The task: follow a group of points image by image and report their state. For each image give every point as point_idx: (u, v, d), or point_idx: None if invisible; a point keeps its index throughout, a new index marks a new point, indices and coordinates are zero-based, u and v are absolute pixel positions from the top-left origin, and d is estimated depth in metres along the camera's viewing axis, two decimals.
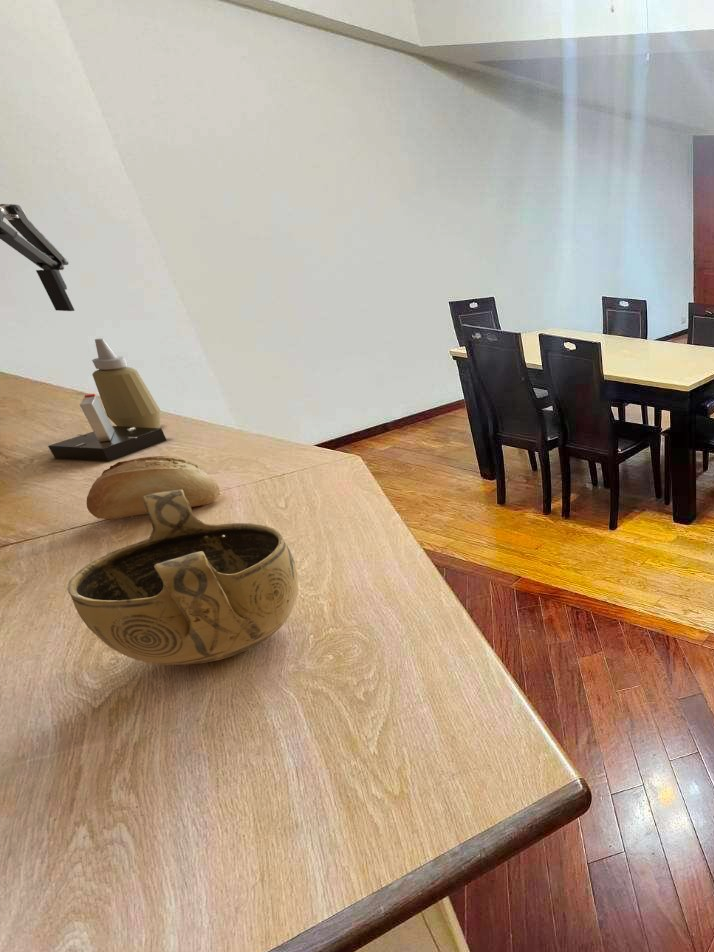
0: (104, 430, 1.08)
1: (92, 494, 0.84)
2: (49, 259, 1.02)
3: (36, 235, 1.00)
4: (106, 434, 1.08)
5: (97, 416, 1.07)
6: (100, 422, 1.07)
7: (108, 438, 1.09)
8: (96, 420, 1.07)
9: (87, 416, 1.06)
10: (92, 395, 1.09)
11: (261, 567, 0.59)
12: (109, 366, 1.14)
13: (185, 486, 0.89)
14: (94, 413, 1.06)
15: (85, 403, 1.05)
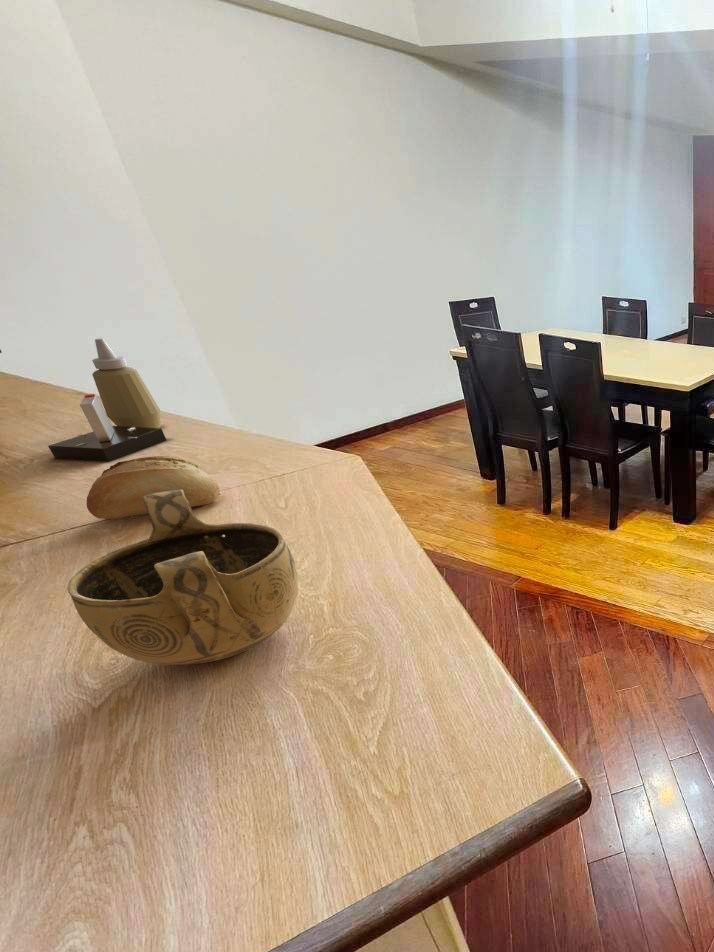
0: (104, 430, 1.08)
1: (92, 494, 0.84)
2: None
3: None
4: (106, 434, 1.08)
5: (97, 416, 1.07)
6: (100, 422, 1.07)
7: (108, 438, 1.09)
8: (96, 420, 1.07)
9: (87, 416, 1.06)
10: (92, 395, 1.09)
11: (261, 566, 0.59)
12: (109, 366, 1.14)
13: (185, 486, 0.89)
14: (94, 413, 1.06)
15: (85, 403, 1.05)
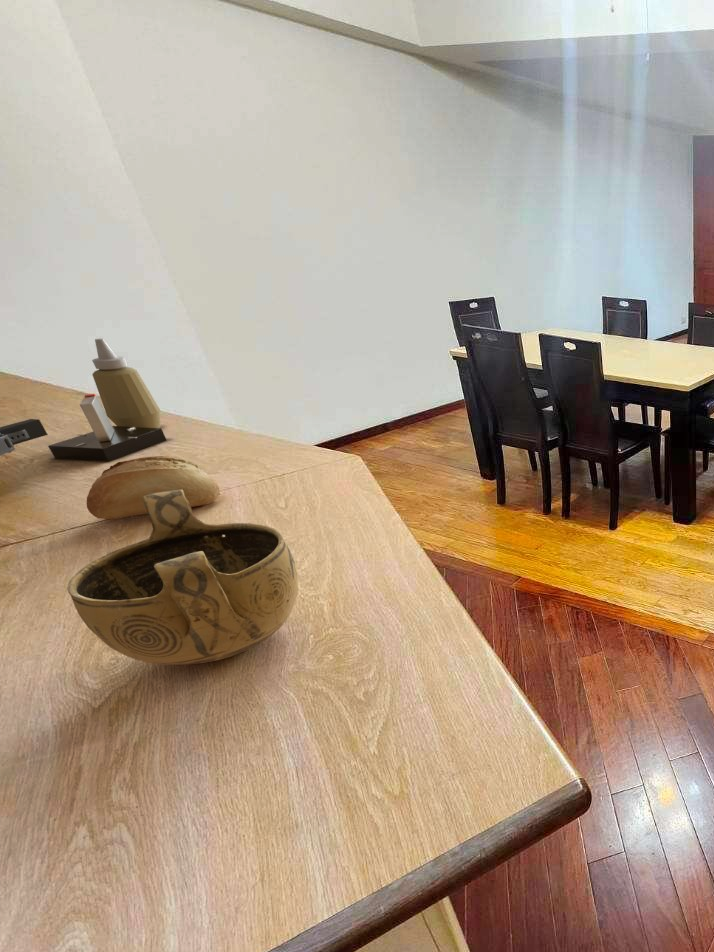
0: (104, 430, 1.08)
1: (92, 494, 0.84)
2: None
3: None
4: (106, 434, 1.08)
5: (97, 416, 1.07)
6: (100, 422, 1.07)
7: (108, 438, 1.09)
8: (96, 420, 1.07)
9: (87, 416, 1.06)
10: (92, 395, 1.09)
11: (261, 566, 0.59)
12: (109, 366, 1.14)
13: (185, 486, 0.89)
14: (94, 413, 1.06)
15: (85, 403, 1.05)
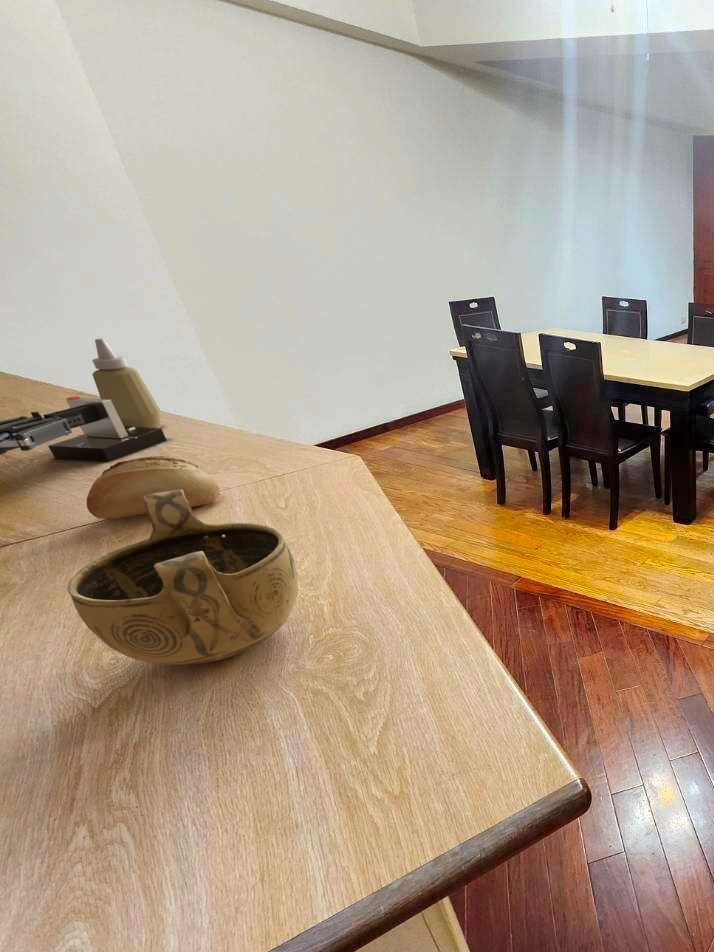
0: (122, 426, 1.10)
1: (92, 494, 0.84)
2: None
3: None
4: (124, 430, 1.11)
5: (116, 412, 1.09)
6: (118, 418, 1.10)
7: (126, 434, 1.11)
8: (116, 416, 1.09)
9: (109, 413, 1.08)
10: (77, 397, 1.08)
11: (261, 566, 0.59)
12: (109, 366, 1.14)
13: (185, 486, 0.89)
14: (113, 409, 1.09)
15: (103, 400, 1.07)
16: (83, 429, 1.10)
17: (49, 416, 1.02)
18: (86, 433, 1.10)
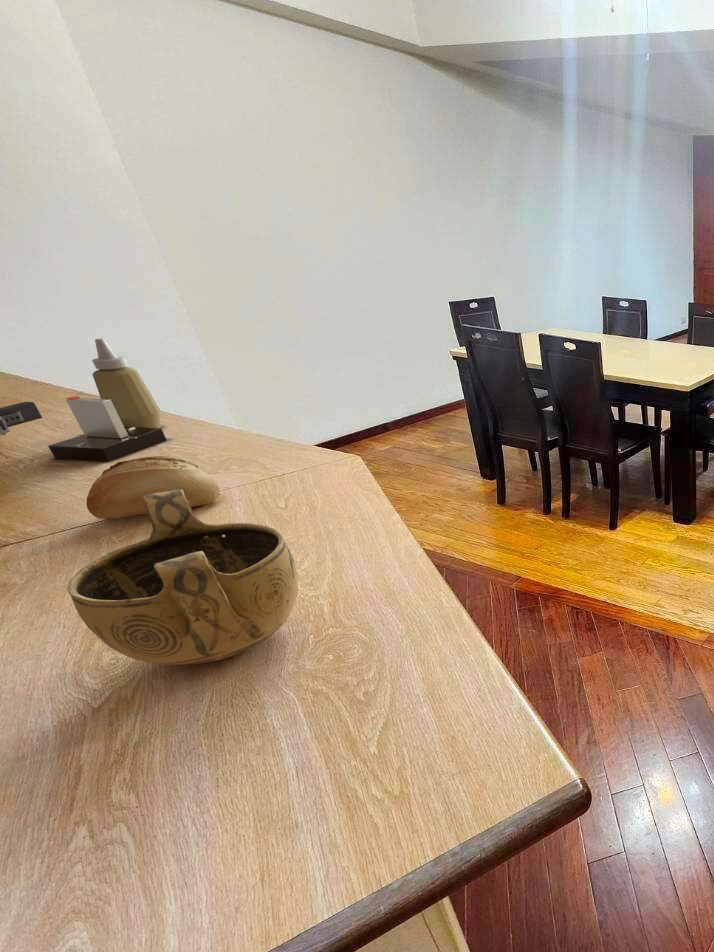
0: (122, 426, 1.10)
1: (92, 494, 0.84)
2: None
3: None
4: (124, 430, 1.11)
5: (116, 412, 1.09)
6: (119, 418, 1.10)
7: (126, 434, 1.11)
8: (116, 416, 1.09)
9: (109, 413, 1.08)
10: (77, 397, 1.08)
11: (261, 566, 0.59)
12: (109, 366, 1.14)
13: (185, 486, 0.89)
14: (113, 409, 1.09)
15: (103, 400, 1.07)
16: (83, 429, 1.10)
17: None
18: (86, 433, 1.10)
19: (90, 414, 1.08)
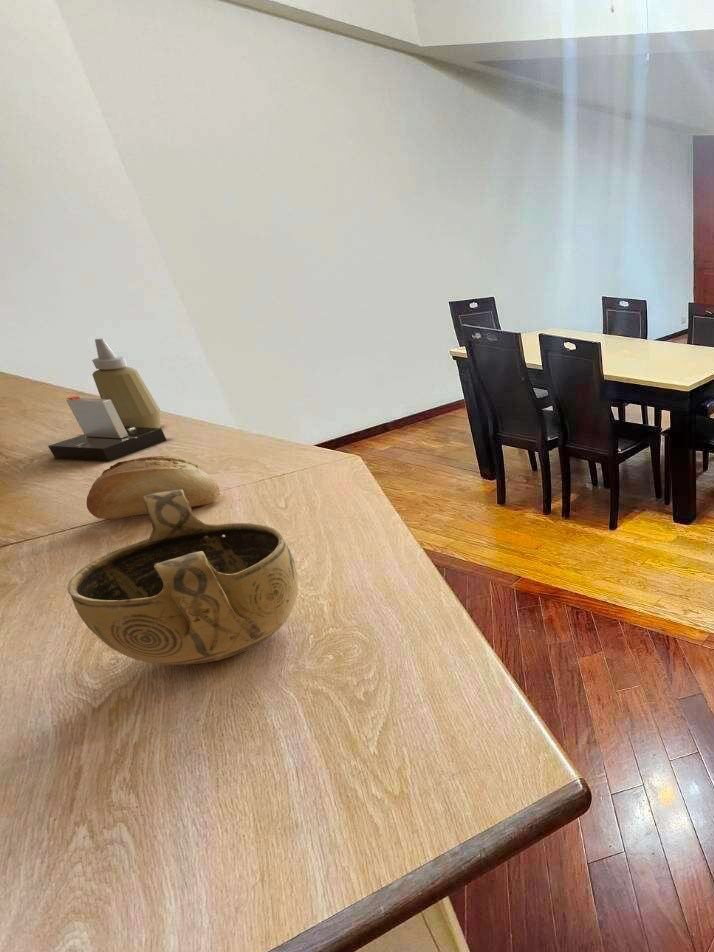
0: (122, 426, 1.10)
1: (92, 494, 0.84)
2: None
3: None
4: (124, 430, 1.11)
5: (116, 412, 1.09)
6: (119, 418, 1.10)
7: (126, 434, 1.11)
8: (116, 416, 1.09)
9: (109, 413, 1.08)
10: (77, 397, 1.08)
11: (261, 566, 0.59)
12: (109, 366, 1.14)
13: (185, 486, 0.89)
14: (113, 409, 1.09)
15: (103, 400, 1.07)
16: (83, 429, 1.10)
17: None
18: (86, 433, 1.10)
19: (90, 414, 1.08)
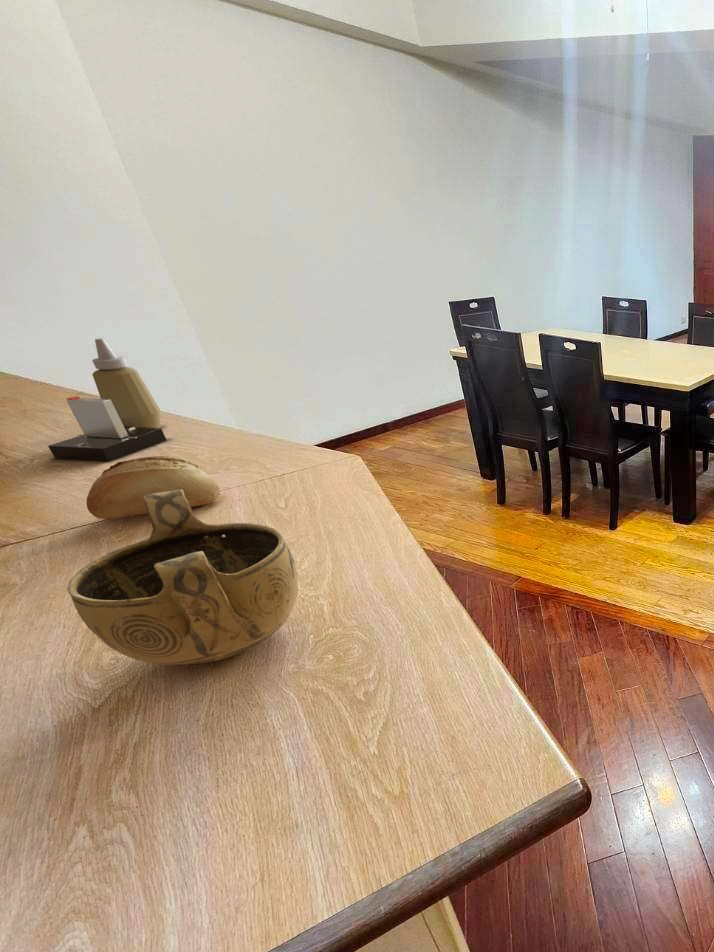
0: (122, 426, 1.10)
1: (92, 494, 0.84)
2: None
3: None
4: (124, 430, 1.11)
5: (116, 412, 1.09)
6: (119, 418, 1.10)
7: (126, 434, 1.11)
8: (116, 416, 1.09)
9: (109, 413, 1.08)
10: (77, 397, 1.08)
11: (261, 566, 0.59)
12: (109, 366, 1.14)
13: (185, 486, 0.89)
14: (113, 409, 1.09)
15: (103, 400, 1.07)
16: (83, 429, 1.10)
17: None
18: (86, 433, 1.10)
19: (90, 414, 1.08)
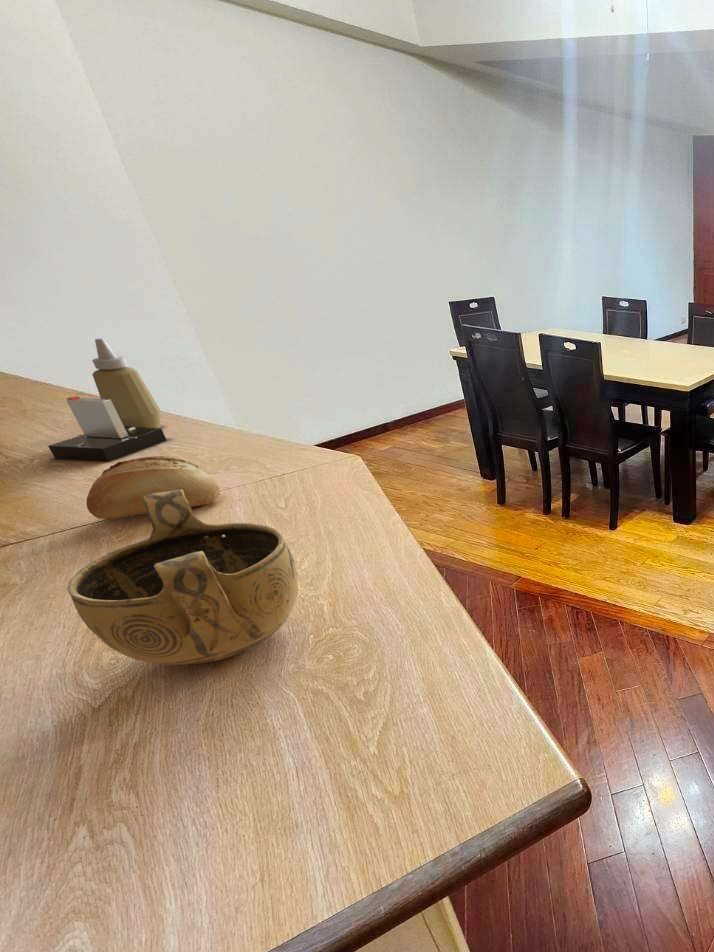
0: (122, 426, 1.10)
1: (92, 494, 0.84)
2: None
3: None
4: (124, 430, 1.11)
5: (116, 412, 1.09)
6: (119, 418, 1.10)
7: (126, 434, 1.11)
8: (116, 416, 1.09)
9: (109, 413, 1.08)
10: (77, 397, 1.08)
11: (261, 566, 0.59)
12: (109, 366, 1.14)
13: (185, 486, 0.89)
14: (113, 409, 1.09)
15: (103, 400, 1.07)
16: (83, 429, 1.10)
17: None
18: (86, 433, 1.10)
19: (90, 414, 1.08)
